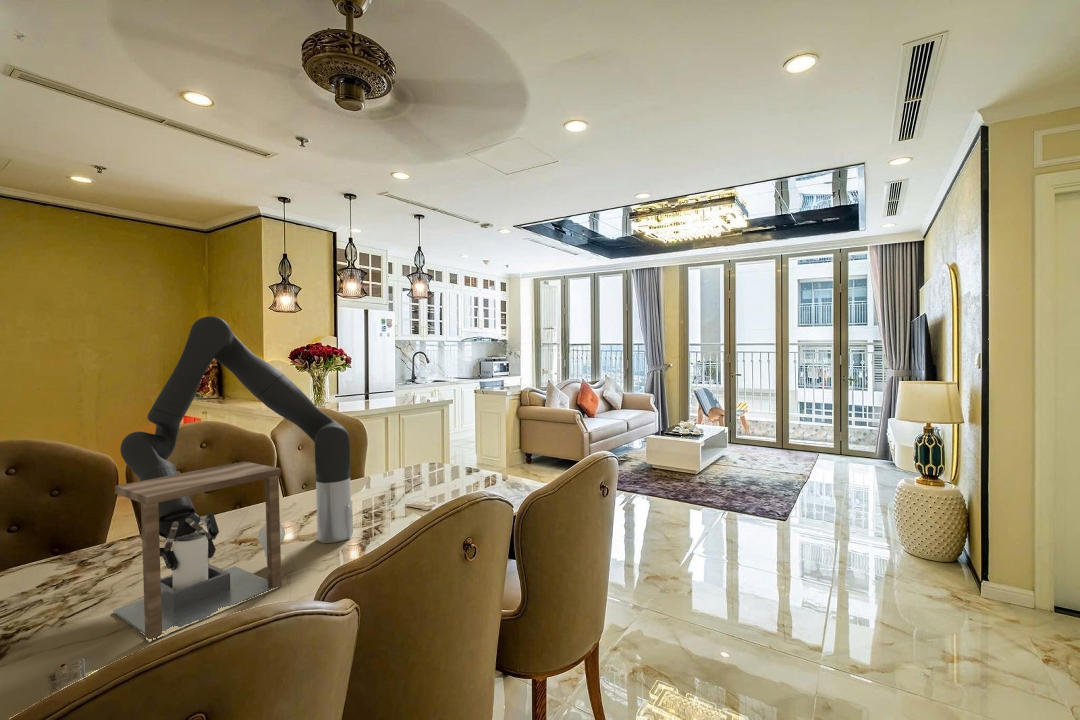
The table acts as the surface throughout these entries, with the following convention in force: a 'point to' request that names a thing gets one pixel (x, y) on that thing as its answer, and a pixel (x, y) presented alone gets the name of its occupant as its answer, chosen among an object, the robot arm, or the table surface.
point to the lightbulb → (263, 537)
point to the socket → (198, 598)
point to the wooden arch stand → (188, 485)
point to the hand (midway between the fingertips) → (193, 561)
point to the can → (190, 560)
